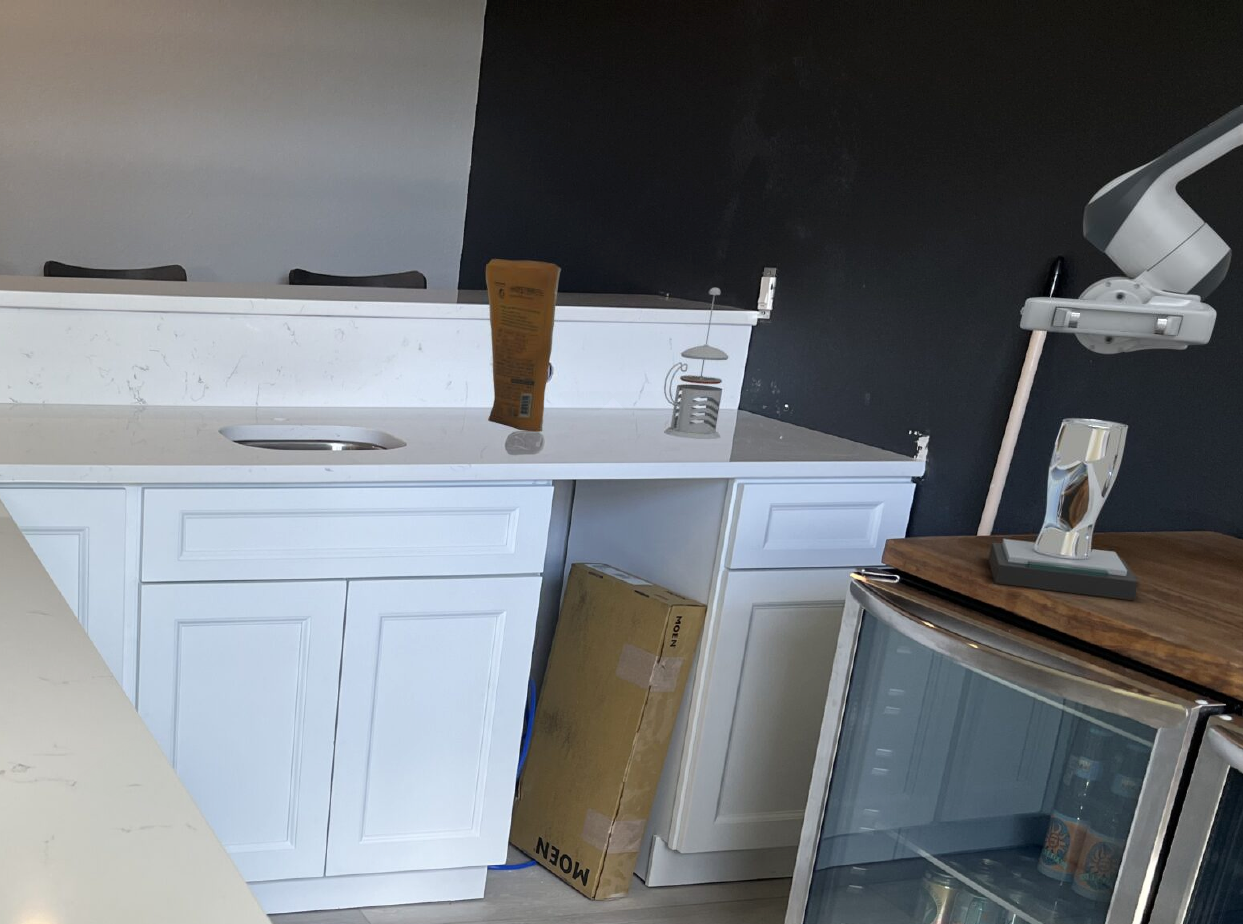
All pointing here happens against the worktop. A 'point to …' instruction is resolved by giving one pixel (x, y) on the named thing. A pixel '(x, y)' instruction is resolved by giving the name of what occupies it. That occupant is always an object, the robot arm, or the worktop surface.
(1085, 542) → the beer glass
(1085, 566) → the kitchen scale
